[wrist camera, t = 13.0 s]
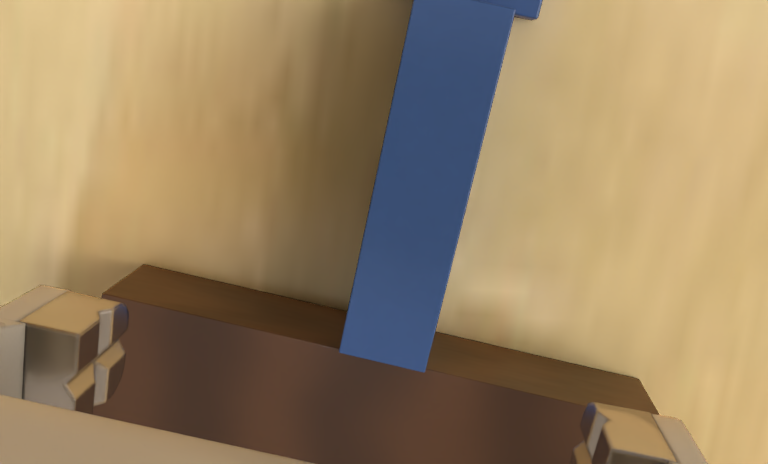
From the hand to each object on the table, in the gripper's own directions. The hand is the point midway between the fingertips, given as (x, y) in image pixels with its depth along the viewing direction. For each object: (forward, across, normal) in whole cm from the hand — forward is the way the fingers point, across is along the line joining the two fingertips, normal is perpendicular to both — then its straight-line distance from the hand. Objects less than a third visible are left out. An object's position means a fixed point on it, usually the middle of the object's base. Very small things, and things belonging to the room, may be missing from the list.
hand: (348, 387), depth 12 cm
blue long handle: (+15, -1, -5) cm, 16 cm away
